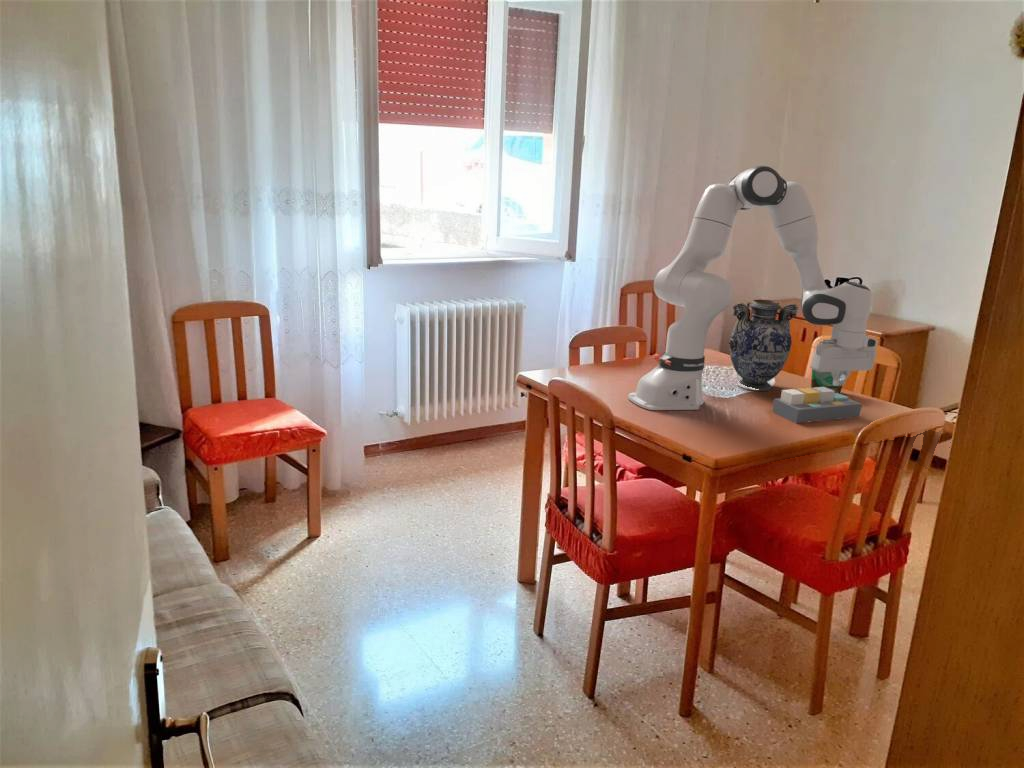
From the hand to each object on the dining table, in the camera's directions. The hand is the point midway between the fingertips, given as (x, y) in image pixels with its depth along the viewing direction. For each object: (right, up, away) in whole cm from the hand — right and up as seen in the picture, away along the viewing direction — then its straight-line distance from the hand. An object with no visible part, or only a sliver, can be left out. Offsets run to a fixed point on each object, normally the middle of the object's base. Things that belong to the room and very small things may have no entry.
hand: (838, 385), depth 219 cm
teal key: (0, -6, +3) cm, 7 cm away
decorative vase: (-17, -1, +24) cm, 29 cm away
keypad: (-7, -8, -1) cm, 11 cm away
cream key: (-15, -5, -4) cm, 16 cm away
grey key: (-5, -4, 0) cm, 7 cm away
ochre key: (-10, -5, -2) cm, 11 cm away
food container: (+5, -3, +19) cm, 20 cm away
